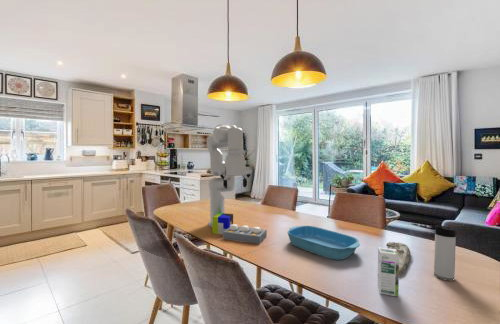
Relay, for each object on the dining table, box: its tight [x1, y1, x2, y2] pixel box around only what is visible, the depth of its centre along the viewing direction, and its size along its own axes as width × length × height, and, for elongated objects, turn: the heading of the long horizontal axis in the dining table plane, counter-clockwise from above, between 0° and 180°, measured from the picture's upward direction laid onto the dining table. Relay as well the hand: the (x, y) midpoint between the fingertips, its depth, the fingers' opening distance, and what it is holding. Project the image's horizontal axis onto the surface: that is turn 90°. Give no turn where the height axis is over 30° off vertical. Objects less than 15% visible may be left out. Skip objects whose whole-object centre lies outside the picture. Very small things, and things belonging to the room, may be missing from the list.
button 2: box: [252, 226, 261, 234], centre depth 137 cm, size 4×4×4 cm
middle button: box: [240, 225, 250, 233], centre depth 139 cm, size 4×4×4 cm
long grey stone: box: [386, 241, 412, 276], centre depth 111 cm, size 35×5×10 cm
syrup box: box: [377, 246, 400, 298], centre depth 85 cm, size 6×6×14 cm
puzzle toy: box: [212, 213, 234, 235], centre depth 151 cm, size 10×10×10 cm
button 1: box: [230, 223, 239, 231], centre depth 142 cm, size 4×4×4 cm
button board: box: [222, 226, 268, 245], centre depth 140 cm, size 12×22×4 cm, turn 69°
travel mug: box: [433, 225, 457, 281], centre depth 95 cm, size 6×7×20 cm
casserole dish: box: [287, 225, 361, 261], centre depth 124 cm, size 37×22×7 cm, turn 43°
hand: (235, 187), depth 122 cm, fingers open, 9 cm apart
